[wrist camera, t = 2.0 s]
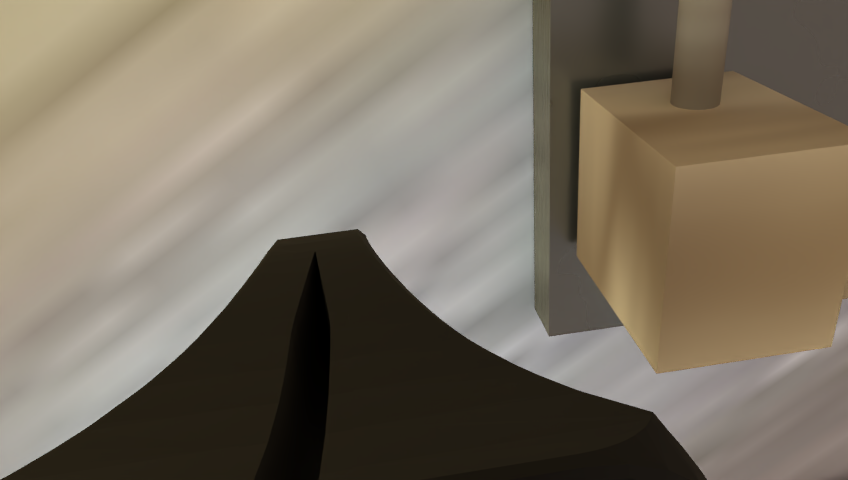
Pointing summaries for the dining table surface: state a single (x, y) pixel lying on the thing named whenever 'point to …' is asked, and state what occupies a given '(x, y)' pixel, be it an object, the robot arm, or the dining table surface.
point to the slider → (713, 207)
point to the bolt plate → (637, 62)
